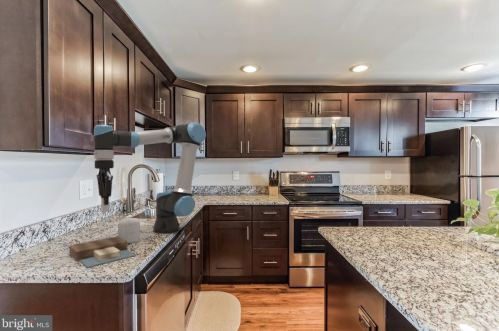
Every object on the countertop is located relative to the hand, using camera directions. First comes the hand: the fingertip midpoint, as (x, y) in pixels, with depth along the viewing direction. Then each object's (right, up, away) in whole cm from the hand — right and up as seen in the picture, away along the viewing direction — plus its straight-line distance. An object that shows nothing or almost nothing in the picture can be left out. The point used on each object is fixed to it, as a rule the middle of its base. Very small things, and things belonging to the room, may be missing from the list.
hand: (105, 211), depth 119 cm
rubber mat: (+6, -18, -8) cm, 21 cm away
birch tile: (+5, -18, -7) cm, 20 cm away
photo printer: (+4, -18, +14) cm, 24 cm away
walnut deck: (-3, -18, 0) cm, 18 cm away
